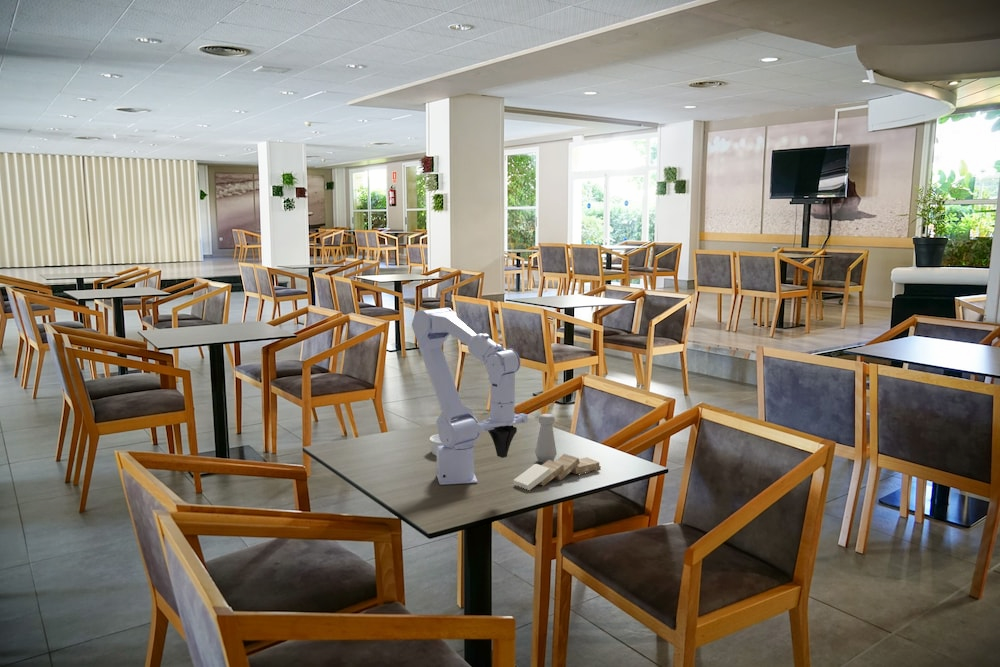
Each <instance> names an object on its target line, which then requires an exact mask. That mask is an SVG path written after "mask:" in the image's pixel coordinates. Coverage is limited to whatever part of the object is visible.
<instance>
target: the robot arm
mask: <svg viewBox="0 0 1000 667" xmlns="http://www.w3.org/2000/svg"><path fill="white" fill-rule="evenodd" d="M411 328H412V330H413V333H414V336H415V339H416V341H417V343H418V349H419V351H420V354H421V357H422V359H423V363H424V366H425V368H426V371H427V374H428V377H429V379H430V382H431V385H432V387H433V391H434V393H435V395H436V399H437V403H438V405H439V407H440V411H441V412H440V414H439V416H438V418H437V419H436V425H437V430H438V434H439V438H440V441H441V442H442V444H443V445H442V446H437V456H436V470H435V473H436V474H435V475H436V477H437V479H438V480H437V481H438V483H439V485H442V486H443V485H459V484H476V483H478V479H477V477H476V474H475V445H476V444H477V439H479V437H480V435H481V434H483V433H485V432H488V433H489V435H490V437H491V439H492V441H493V444H494V448H495V452H496V456H497V457H500V458H502V459H503V458H506V457H507V456H508V452H509V449H510V445H511V443H512V441H513V439H514V436H515V435H516V434H517V432H518V430H517V427H516V425H518V424H527V423H528V416H529V415H528V414H526V413H522V412H521V413H515V408H516V407H515V406H516V405H515V402H516V401H515V400H516V399H515V398H516V397H515V394H516V389H515V388H516V387H515V386H516V385H515V384H516V373H517V372H518V371H519V370H520V368H521V357H520V355H519V354H518V352H517V351H515V349H514V348H505V347H503V345H501V344H499V343H497V342H495V341H494V340H493V339H492V338H490V335H489V334H488V333H478V334H477V333H476V332H474V330H472V329H471V328H470V327H469V326H467V324H466V323H465V322H463V321H462V320H461V319H460V318H458V313H457V312H456V311H454V310H453V309H452V308H450V307H447V306H444V307H442V308H431V309H419V310H417V311H416V312H415V314H414V315H413V320H412V322H411ZM450 335H451V336H452V337H454V339H457V340H459V341H460V342H461V343H463V344H464V345H466V346H467V350H468V353H470V354H471V356H473V357H474V358H476V359H477V360H478V361H479V362H481V363H482V364H484V366H485V370H486V372H487V374H488V380H489V383H490V399H489V400H490V401H489V402H490V410H489V412H490V414H489V415H490V417H489V418H487V419H484V420H482V421H479V419H478V418H477V417H476V416H475V415H474V412H473V410H472V409H471V408H469V407H468V406H466V405H464V404H463V402H462V400H461V397H460V395H459V392H458V391H459V390H457V386H456V383H455V380H454V378H453V375H452V373H451V370H450V367H449V364H448V361H447V359H446V356H445V354H444V351H443V348H442V347H443V345H444V343H445V342H446V341H447V340H448V338H449V336H450Z"/></svg>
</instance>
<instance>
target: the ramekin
mask: <svg viewBox="0 0 1000 667" xmlns="http://www.w3.org/2000/svg"><path fill="white" fill-rule="evenodd" d="M429 441H430V442H429V443H430V452H431V454H432V455H433V456H436V457H437V446H442V445H443V444H442V442H441V441H440V438H439V434H433V435H431V436H430V437H429Z"/></svg>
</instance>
